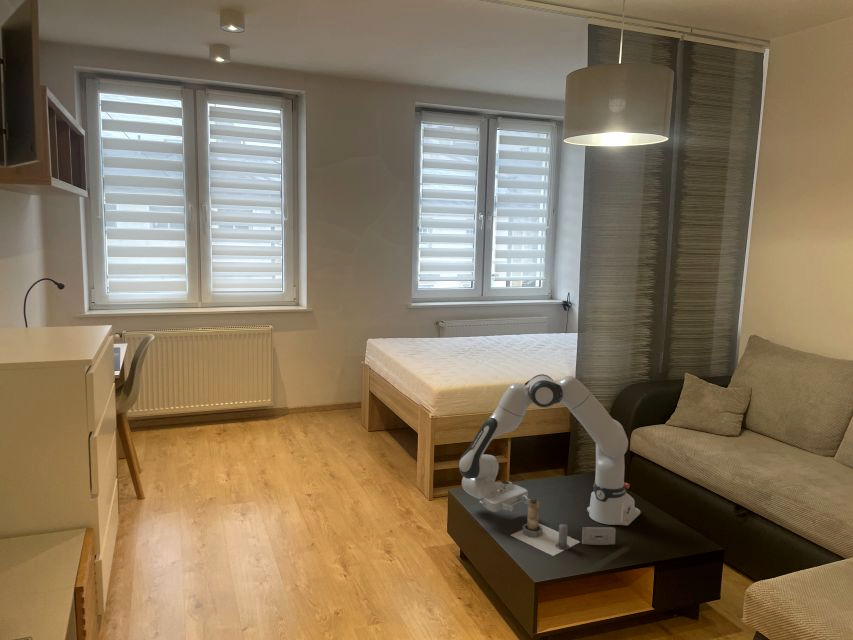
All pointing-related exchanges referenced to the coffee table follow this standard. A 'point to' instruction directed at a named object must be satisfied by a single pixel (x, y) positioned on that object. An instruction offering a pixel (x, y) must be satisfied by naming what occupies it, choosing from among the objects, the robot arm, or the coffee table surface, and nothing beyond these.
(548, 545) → the plate
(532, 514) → the wooden leg
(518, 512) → the coffee table surface
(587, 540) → the cassette
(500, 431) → the robot arm
